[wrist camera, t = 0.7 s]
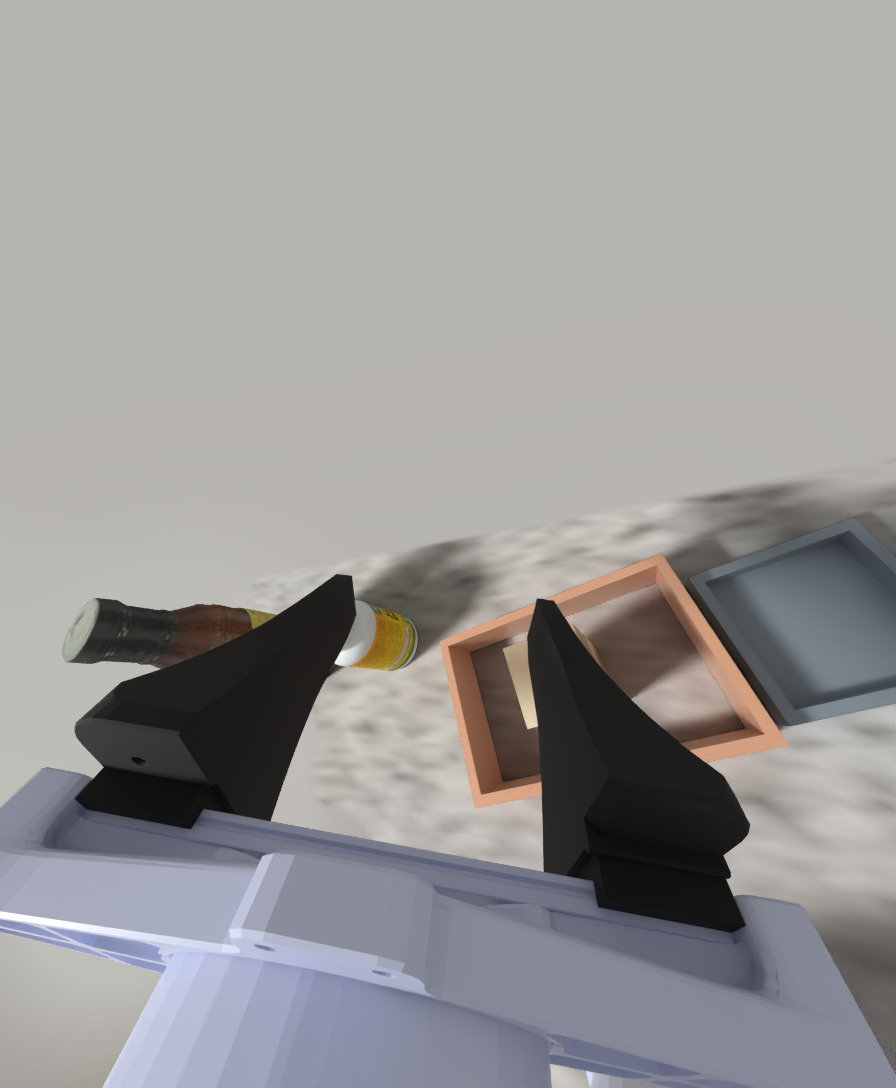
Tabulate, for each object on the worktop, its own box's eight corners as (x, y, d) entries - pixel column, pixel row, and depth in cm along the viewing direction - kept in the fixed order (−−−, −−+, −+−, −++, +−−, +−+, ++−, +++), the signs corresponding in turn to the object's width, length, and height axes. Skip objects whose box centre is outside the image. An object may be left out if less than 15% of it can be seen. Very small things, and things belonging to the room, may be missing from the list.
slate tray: (987, 677, 16) (1027, 675, 14) (777, 723, 18) (789, 726, 17) (836, 532, 20) (853, 517, 19) (685, 586, 23) (688, 577, 21)
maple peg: (621, 705, 22) (608, 707, 15) (564, 720, 23) (527, 729, 16) (594, 646, 24) (572, 623, 17) (543, 663, 26) (502, 648, 18)
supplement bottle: (370, 666, 33) (287, 656, 26) (383, 613, 35) (309, 589, 27) (413, 676, 30) (335, 668, 23) (425, 618, 32) (356, 592, 25)
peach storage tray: (765, 738, 18) (789, 745, 15) (498, 794, 24) (474, 808, 21) (659, 572, 24) (661, 553, 21) (462, 647, 29) (439, 641, 26)
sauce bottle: (303, 634, 40) (76, 591, 24) (343, 617, 38) (122, 558, 22) (301, 693, 36) (35, 688, 21) (344, 678, 34) (85, 659, 18)
